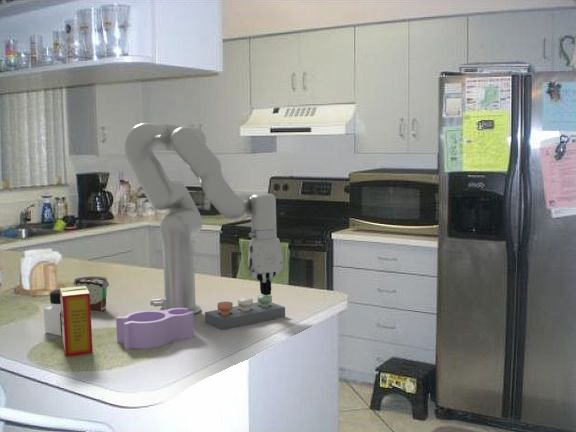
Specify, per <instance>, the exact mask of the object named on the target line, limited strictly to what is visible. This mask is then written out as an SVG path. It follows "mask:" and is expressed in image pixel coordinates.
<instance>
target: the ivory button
mask: <svg viewBox="0 0 576 432" xmlns="http://www.w3.org/2000/svg"><path fill="white" fill-rule="evenodd" d="M253 303H254V301H253V298H249V297H242V298H238V299H237V306H241V311H243V312H245V311H250V306H252V305H253Z"/></svg>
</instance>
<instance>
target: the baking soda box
mask: <svg viewBox="0 0 576 432" xmlns="http://www.w3.org/2000/svg"><path fill="white" fill-rule="evenodd" d="M59 289H60V303H61V321H62V336H61V339H62V347H63V351H64V355H65V358H66V357H73V356H74V357H75V356H81V355H89V354H94V353H93V334H92V332H93V331H92V311H91V309H90V293H89V291H88V289H87V287H86V286H77V287H76V286H68V287H66V286H65V287H60V288H59Z"/></svg>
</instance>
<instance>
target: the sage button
mask: <svg viewBox="0 0 576 432" xmlns="http://www.w3.org/2000/svg"><path fill="white" fill-rule="evenodd" d="M257 302H260V307H262V308H266V307H269V302H272V303H273V296H272V294H271V295H263V294H259V295H257Z"/></svg>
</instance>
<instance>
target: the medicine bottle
mask: <svg viewBox="0 0 576 432" xmlns="http://www.w3.org/2000/svg"><path fill="white" fill-rule="evenodd" d="M49 301H50V306H47V307H44V308H43V320H44V332H45V333H46V334H50V335H54V336H59V337H62V321H61V303H60V288H58V289H54V290H52V291H51V292H50V293H49Z"/></svg>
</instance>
